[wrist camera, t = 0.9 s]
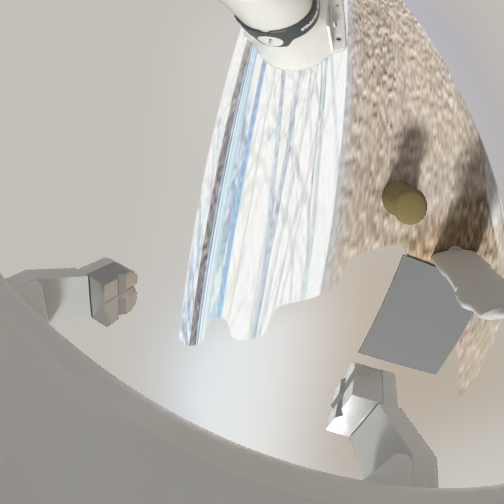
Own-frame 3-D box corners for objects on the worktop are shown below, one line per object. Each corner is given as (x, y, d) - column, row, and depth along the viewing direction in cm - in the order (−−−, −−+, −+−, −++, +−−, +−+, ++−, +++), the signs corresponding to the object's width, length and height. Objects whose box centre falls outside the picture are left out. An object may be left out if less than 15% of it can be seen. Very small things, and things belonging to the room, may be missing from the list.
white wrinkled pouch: (478, 243, 39) (538, 293, 19) (476, 265, 40) (531, 323, 20) (429, 247, 43) (473, 303, 23) (428, 269, 44) (467, 335, 24)
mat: (402, 254, 45) (403, 255, 45) (485, 286, 40) (486, 287, 40) (358, 351, 53) (358, 352, 53) (435, 373, 48) (435, 374, 48)
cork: (418, 212, 42) (435, 225, 32) (385, 218, 44) (395, 233, 34) (411, 177, 41) (428, 181, 31) (378, 183, 43) (386, 188, 33)
